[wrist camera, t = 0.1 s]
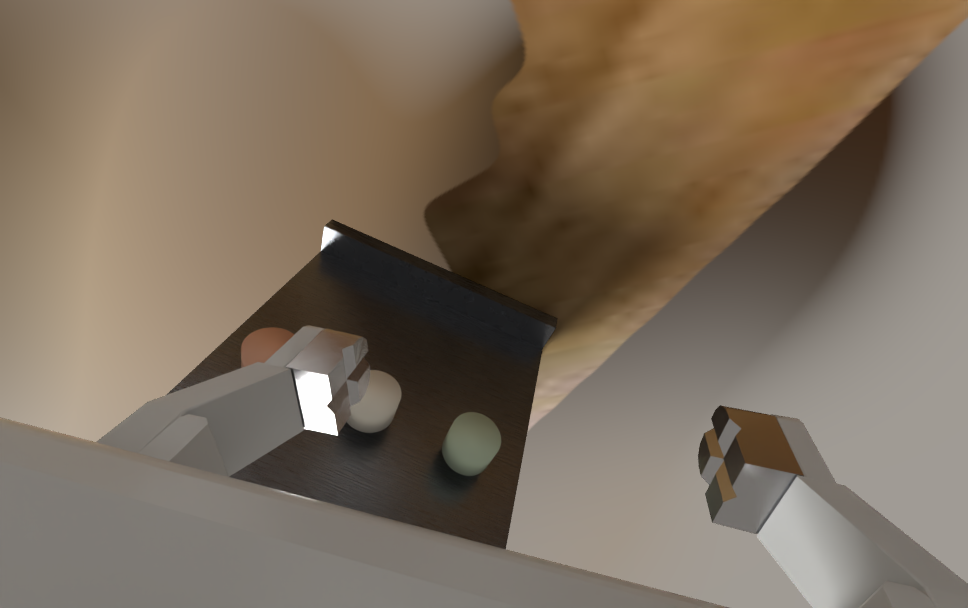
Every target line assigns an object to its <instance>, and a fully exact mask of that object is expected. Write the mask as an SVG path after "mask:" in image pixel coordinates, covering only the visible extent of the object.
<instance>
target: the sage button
mask: <svg viewBox="0 0 968 608" xmlns="http://www.w3.org/2000/svg"><path fill="white" fill-rule="evenodd" d="M500 446H501V435H500V432H499V430H498V428H497V426H496V425H495V423H494V422H493V421H492V420H491V419H489V418H488V417H486V416H485V415H483V414H480V413H476V412H467V413H463V414H461V415H459V416H458V417H457V418H456V419H455V420H454V422H453V424H452V426H451V427H450V429H449V431H448V433H447V435H446V437H445V439H444V441H443V444H442V454H443V457H444V459H445V461H446V463H447V464H448V466H449V467H450V468H451V469H452V470H454V471H455V472H457V473H459V474H462V475H465V476H474V475H477V474H480V473H481V472H483V471H484V470H485V469H486V468H487V466H488V465H489V463H490V462H491V460H492V459H493V458H494V456H495V455H496V453H497V452H498V451H499V449H500Z"/></svg>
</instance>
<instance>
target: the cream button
mask: <svg viewBox="0 0 968 608" xmlns="http://www.w3.org/2000/svg"><path fill="white" fill-rule="evenodd" d="M400 400H401V388H400V385H399V384H398V382H397V381H396V380H395V379H394V378H393V377H392V376H391V375H389V374H387V373H385V372H382V371H378V370H370V381H369V385H368V388H367V390H366V393H365V395H364V396H363V398H362V399H361V401H360V402H359V403H357V404H355V405H353V406H351V407H350V409H351V416H350V417H349V419H348V420H347V423H348V424H349V425H350V426H351V427H352V428H354V429H356V430H358V431H361V432H365V433H374V432H379V431H381V430H383V429H385V428H386V427H388V426H389V425H390V423H391V422H392V420H393V418H394V416H395V413H396V410H397V408H398V405H399V402H400Z"/></svg>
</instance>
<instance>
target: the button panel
mask: <svg viewBox="0 0 968 608" xmlns="http://www.w3.org/2000/svg"><path fill="white" fill-rule="evenodd" d="M556 323H557V318H554V317H552V316H550V315H548V314H545V313H543V312H541V311H538V310H536V309H534V308H532V307H529V306H527V305H525V304H523V303H520V302H518V301H516V300H514V299H511V298H509V297H507V296H504V295H502V294H500V293H498V292H495V291H493V290H491V289H489V288H486V287H484V286H482V285H480V284H477V283H475V282H473V281H471V280H468V279H466V278H464V277H461V276H459V275H457V274H455V273H452V272H450V271H448V270H446V269H443V268H441V267H439V266H437V265H434V264H432V263H430V262H427V261H425V260H423V259H421V258H418V257H416V256H414V255H412V254H409V253H407V252H405V251H403V250H400V249H398V248H396V247H393V246H391V245H389V244H387V243H384V242H382V241H380V240H378V239H375V238H373V237H371V236H369V235H366V234H364V233H362V232H359V231H357V230H355V229H353V228H350V227H348V226H346V225H344V224H341V223H339V222H337V221H334V220H331V221H330V222H329V223H327V224H326V225H325V226H324V232H323V239H322V247H321V252H320V253H319V254H317V255H316V256H315V257H314V258H313V259H312V260H311V261H310V262H309V263H308V264H307V265H306V266H304V268H302V269H301V270H300V271H299V272H298V273H297V274H296V275H295V276H294V277H293V278H292V279H291V280H289V281H288V282H287V283H286V284H285V285H284V286H283V287H282V288H281V289H280V290H279V291H278V292H277V293H275V294H274V295H273V296H272V297H271V298H270V299H269V300H268V301H267V302H266V303H265V304H264V305H263V306H262V307H260V308H259V309H258V310H257V311H256V312H255V313H254V314H253V315H252V316H251V317H250V318H249V319H247V320H246V321H245V322H244V323H243V324H242V325H241V326H240V327H239V328H238V329H237V330H236V331H235V332H234V333H232V334H231V335H230V336H229V337H228V338H227V339H226V340H225V341H224V342H223V343H222V344H221V345H220V346H218V347H217V348H216V349H215V350H214V351H213V352H212V353H211V354H210V355H209V356H208V357H207V358H205V359H204V360H203V361H202V362H201V363H200V364H199V365H198V366H197V367H196V368H195V369H194V370H193V371H192V372H190V373H189V374H188V375H187V376H186V377H185V378H184V379H183V380H182V381H181V382H180V383H179V384H178V385H177V386H175V387H174V388H173V389H172V390H171V391H170V392H169V393H168V394H171V393H174V392H176V391H179V390H182V389H185V388H187V387H190V386H193V385H196V384H199V383H201V382H204V381H207V380H210V379H212V378H215V377H218V376H221V375H223V374H226V373H229V372H232V371H235V370H237V369H240V368H241V345H242V342H243V341H244V339H245V338H246V337H247V336H248V335H249V334H251V333H252V332H254V331H256V330H259V329H262V328H269V327H275V328H282V329H285V330H288V331H290V332H291V333H293V334H294V335H295V334H296V333H297V332H298V331H299V330H300V329H301V328H302V327H304V326H308V325H310V326H315V327H319V328H324V329H330V330H335V331H339V332H344V333H349V334H353V335H358V336H362V337H364V338H365V339H366V340H367V345H368V352H367V353H366V355H365V356H364V358H365V360H366V361H367V362H368V364H369V365H370V370H378V371H382V372H385V373H387V374H389V375H391V376H392V377H393V378H394V379H395V380H396V381H397V382H398V384H399V385H400V388H401V400H400V402H399V405H398V408H397V410H396V413H395V416H394V418H393V420H392V422H391V423H390V425H389V426H388V427H386V428H385V429H383V430H381V431H379V432H374V433H365V432H361V431H358V430H356V429H354V428H352V427H351V426H350V425H349V424H348V423H347V422H346V423H345V425H344V426H343V428H342V429H341V431H340V432H339V433H338V435H334V434H329V433H324V432H319V431H315V430H310V429H305V428H304V430H303V431H302V432H300V433H299V434H297V435H295V436H294V437H292V438H291V439H289V440H287V441H286V442H284V443H283V444H281V445H279V446H278V447H276V448H275V449H273V450H271V451H270V452H268V453H266V454H265V455H263V456H262V457H260V458H258V459H257V460H255V461H254V462H252V463H250V464H249V465H247V466H246V467H244V468H242V469H241V470H239V471H237V472H236V473H234V474H233V475H231V476H229V477H231V478H235V479H239V480H242V481H246V482H250V483H254V484H258V485H262V486H265V487H269V488H273V489H277V490H281V491H284V492H288V493H292V494H296V495H300V496H304V497H307V498H311V499H315V500H319V501H323V502H327V503H330V504H334V505H338V506H342V507H346V508H350V509H353V510H357V511H361V512H365V513H369V514H372V515H376V516H380V517H384V518H388V519H392V520H395V521H399V522H403V523H407V524H411V525H415V526H418V527H422V528H426V529H430V530H434V531H437V532H441V533H445V534H449V535H453V536H457V537H460V538H464V539H468V540H472V541H476V542H479V543H483V544H487V545H491V546H495V547H499V548H502V549H506V544H507V539H508V533H509V528H510V523H511V517H512V512H513V506H514V501H515V495H516V490H517V485H518V479H519V473H520V468H521V463H522V457H523V452H524V446H525V441H526V436H527V430H528V425H529V419H530V414H531V409H532V403H533V398H534V392H535V387H536V382H537V376H538V371H539V365H540V360H541V354H542V349H543V347H544V345H545V344H546V342H547V341H548V339H549V338H550V336H551V335H552V333H553V332H554V330H555V328H556ZM168 394H167V395H168ZM467 412H476V413H480V414H483V415H485V416H486V417H488V418H489V419H491V420H492V421H493V422H494V423H495V425H496V426H497V428H498V430H499V432H500V435H501V446H500V449H499V451H498V452H497V453H496V455H495V456H494V458H493V459H492V460H491V462H490V463H489V465H488V466H487V468H486V469H485V470H484V471H483V472H481V473H480V474H477V475H474V476H465V475H462V474H459V473H457V472H455V471H454V470H452V469H451V468H450V467H449V466H448V464H447V463H446V461H445V459H444V457H443V454H442V444H443V441H444V439H445V437H446V435H447V433H448V431H449V429H450V427H451V426H452V424H453V422H454V420H455V419H456V418H457V417H458V416H459V415H461V414H463V413H467Z"/></svg>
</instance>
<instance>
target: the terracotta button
mask: <svg viewBox="0 0 968 608" xmlns="http://www.w3.org/2000/svg"><path fill="white" fill-rule="evenodd" d="M293 336H294V334H293V333H291V332H290V331H288V330H285V329H282V328H275V327H269V328H262V329H259V330H256V331H254V332H252V333H251V334H249V335H248V336H247V337H246V338H245V339H244V341H243V342H242V345H241V368H243V367H246V366H248V365H251V364H254V363H257V362H261V363H265V362H266V361H267V360H268V359H269V358H270V357H271V356H272V355H273V354H274V353H275V352H276V351H278V350H279V349H280V348H281V347H282V346H283V345H284V344H285V343H286V342H287V341H288V340H289V339H290V338H291V337H293Z"/></svg>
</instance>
